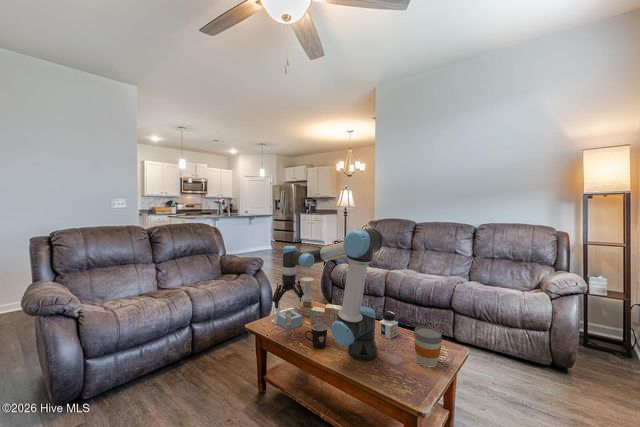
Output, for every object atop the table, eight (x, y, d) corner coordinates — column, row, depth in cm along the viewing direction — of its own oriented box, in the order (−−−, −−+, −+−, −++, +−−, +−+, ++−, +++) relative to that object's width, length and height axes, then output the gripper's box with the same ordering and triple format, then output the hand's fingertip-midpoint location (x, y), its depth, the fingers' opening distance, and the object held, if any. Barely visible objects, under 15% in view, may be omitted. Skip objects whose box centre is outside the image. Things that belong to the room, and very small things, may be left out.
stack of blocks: (310, 324, 175) (310, 305, 174) (313, 320, 181) (314, 301, 180) (343, 330, 168) (344, 310, 167) (346, 326, 174) (346, 306, 173)
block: (302, 325, 173) (302, 315, 173) (287, 330, 166) (287, 320, 166) (292, 319, 181) (292, 310, 181) (277, 323, 174) (277, 314, 174)
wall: (294, 318, 182) (294, 308, 182) (275, 324, 173) (275, 313, 173) (289, 316, 186) (289, 305, 186) (271, 321, 177) (271, 310, 177)
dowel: (291, 336, 159) (292, 311, 158) (287, 337, 157) (287, 313, 156) (288, 334, 161) (289, 310, 161) (284, 335, 159) (284, 311, 159)
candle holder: (309, 318, 184) (310, 282, 183) (295, 314, 190) (296, 279, 189) (317, 312, 194) (318, 278, 193) (304, 309, 199) (305, 275, 198)
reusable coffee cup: (408, 363, 135) (410, 332, 134) (418, 352, 144) (419, 323, 144) (435, 373, 127) (437, 341, 126) (444, 362, 136) (445, 331, 136)
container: (389, 339, 158) (390, 316, 157) (378, 334, 164) (379, 312, 163) (397, 335, 163) (398, 313, 162) (386, 330, 169) (387, 309, 168)
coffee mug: (327, 342, 153) (328, 324, 152) (326, 350, 144) (327, 331, 144) (306, 340, 154) (307, 322, 154) (304, 348, 145) (304, 329, 145)
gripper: (302, 269, 169) (301, 304, 170) (266, 275, 152) (265, 313, 154) (310, 272, 163) (309, 307, 164) (273, 278, 147) (272, 318, 148)
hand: (288, 310), depth 159 cm, fingers open, 13 cm apart
